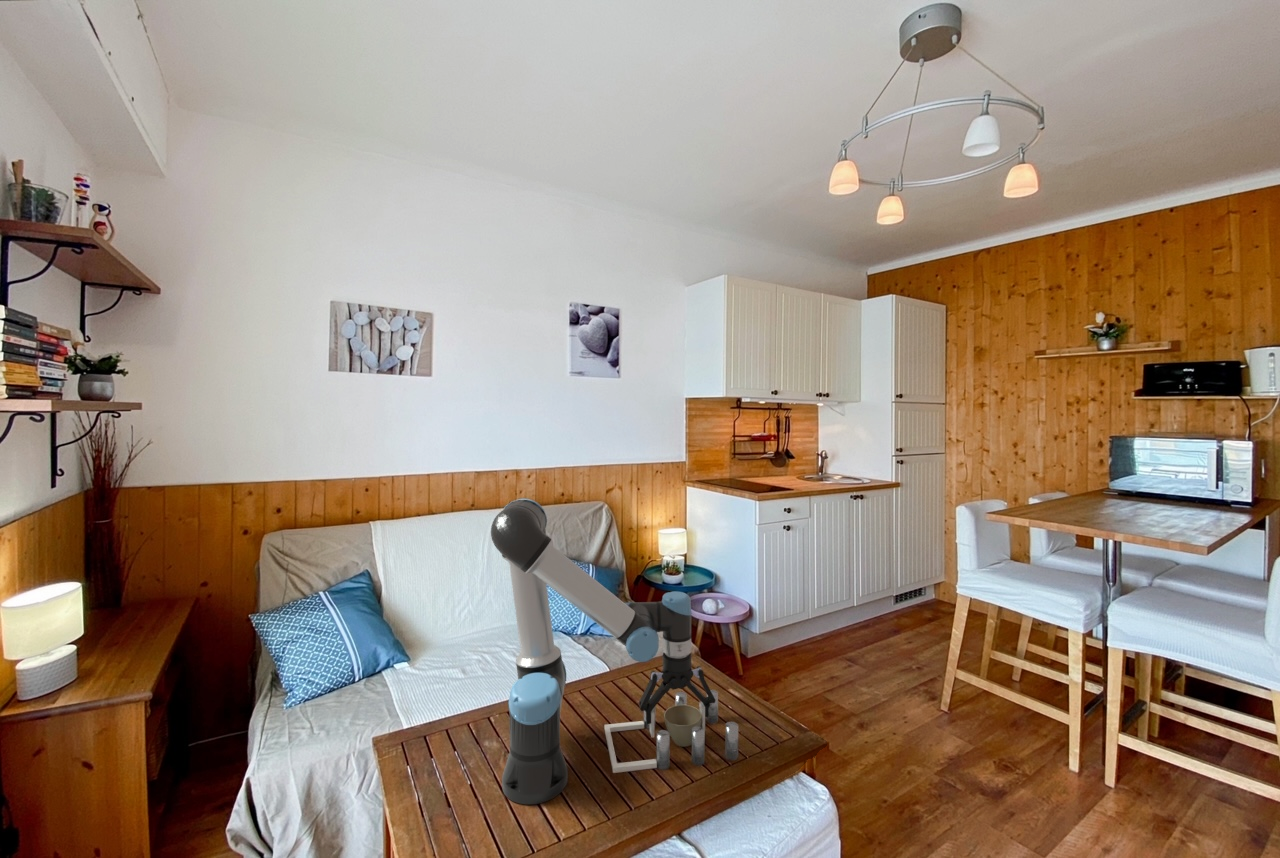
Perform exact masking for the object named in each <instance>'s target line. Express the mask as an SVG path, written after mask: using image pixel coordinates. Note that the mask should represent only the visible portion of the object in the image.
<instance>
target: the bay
mask: <svg viewBox="0 0 1280 858" xmlns="http://www.w3.org/2000/svg"><path fill="white" fill-rule="evenodd" d="M642 729H645V727H644V720H641V721H629V722H628V721H627V722H619V723H610V724H608V723H607V724H604V733H605V738H606V739H605V740H606V743H607V744H606V745H607V748H608V753H609V759H610V764H611V769H612V773H613V774H616V773H623V772H624V773H625V772H633V771H640V770H641V771H643V770H649V769H658V768H657V762H656V759H657V758H652V759H644V760H643V759H642V760H633V761H627V762H618V760H617V757H616V752H615V747H614V744H613V737H612V733H613V732H614V733H615V732H623V731H633V730H642Z"/></svg>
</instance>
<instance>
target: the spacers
mask: <svg viewBox="0 0 1280 858" xmlns="http://www.w3.org/2000/svg"><path fill="white" fill-rule="evenodd" d="M710 691H711V692H712V694H713V696H714V698H715V700H716V701H715V703H710V707H709V711H708V712H709V715H708V717H705V721H706V722H707V723H709V724H712V725H713V724H716V723H718V721H719V692H718V691H717V690H716V689H710ZM687 695H688V694H687V693H686V692H684V691H677V692H676V693H675V694H674V696H675V697H674V698H675V699H674V706H675V705H688V704H687V703H688V702H687V701H688V698H687V697H688V696H687ZM652 696H653V694H652V695H651V697H652ZM651 697H650V698H651ZM706 697H708V695H707V694H706ZM653 710H654V728H656V706H655V707H654V709H653ZM643 722H644V729H646V730H650V724H647V721H646V711H643ZM705 733H706V729H705V730H704V728H702V727H699V726H696V727H693V728H692V744H691V763H692V764H693V765H695V766H703V765H704V764H705V755H706V754H705V747H706V746H705V745H706V744H705V742H706V741H705V736H706V734H705ZM724 733H725V736H724V737H725V740H724V742H725V749H724V750H725V751H724V753H725V754H724V756H725V758H726V759H727V760H729V761H735V760H737V759H738V758H739V724H738V723H737V722H735V721H728V722H726V723H725V732H724ZM670 738H671V736H670V733H669V732H668V730H665V729H661V730H658V731H657V732H656V758H655V759H656V762H657V768H656V769H659V770H661V771H664V770H667V769H669V768H670V751H671V750H670V743H671V742H670Z"/></svg>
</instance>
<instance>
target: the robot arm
mask: <svg viewBox="0 0 1280 858" xmlns="http://www.w3.org/2000/svg"><path fill="white" fill-rule="evenodd" d="M547 522H548V518H547V514H546V511H545V509H544V507H543V506H542V505H541V504H540V503H539V502H537V501H535V500H533V499H529V498H520V499H515V500H513V501H510V502H509V503H508V504H507V505H505V506H504V508H503V509H502V510H501V511H500V512H499V513H498V514H497V515H495V518H494V519H493V521H492V523H491V528H490V537H491V541H492V543H493V546H494V547H495V549H496V550H497V551H498V552H499V553H500V554H501V557H502V559H504V560H505V561H507V562H508V564H509V570H510V579H511V586H512V593H513V601H514V607H515V608H514V609H515V617H516V624H517V630H518V639H519V646H520V649H519V650H520V652H519V654H518V655H517V657H516V658H515V665H516V672H517V673H516V674H517V680H516V681H515V682H514V684H513V685H512V687H511V688H510V692H509V697H508V710H509V754H508V756H507V759H506V762H505V763H506V764H505V766H504V769H503V772H502V775H501V776H502V777H501V778H502V780H501V781H502V782H501V783H502V785H501V787H502V789H501V790H502V792H503V794H504V796H505V798H506V799H507V798H508V799H509V800H510V801H512V802H514V803H517V804H519V805H538V804H542V803H545V802H548V801H550V800H552V799H554V798H556V797H557V796H558V795H560V794H561V793H562V791H564V789H565V788H566V787H567V784H568V766H567V763H566V760H565V757H564V754H563V750H562V748H561V710H562V704H563V703H562V702H563V698H564V691H565V687H566V681H567V669H566V666H565V663H564V661H563V657H562V651H561V648H560V647H559V646H556V645H555V641H554V635H553V633H554V632H553V627H552V625H553V624H552V617H551V609H550V603H549V594H548V587H550V588H551V589H553V590H554V591H555V592H556V593H557V594H559V595H560V596H561V597H562V598H564V599H565V600H566V601H567V602H568V603H570V604H572V606H574V607H575V608H576V609H578V610H579V611H580V612H582V613H583V614H584V615H586V616H587V617H588V618H589V619H591V620H592V621H593V622H594V623H595V624H597V625H598V626H600V628H601V629H603V630H604V631H606V632H607V633H608V634H609V635H611V636H612V637H614V638H615V640H617V641H618V642H620V643H621V644H622V645H623V646H624V647H625V649H626V651H627V653H628V655H629V656H630V658H631V659H632V660H634V661H635V662H639V663H646V662H649V661H650V660H652V659H654V658H655V657H656V656H657V653H658V651H659V646H660V645H659V641H660V640H659V639H660V638H659V634H658V633H662V670H661V672H656V671H655V670H651V672H650V676H649V677H650V678H649V681H648V682H647V685H646V687H645V688H644V691H643V693H642V695H641V697H640V699H639V702H638V706H639V710H640V711H641V712H644V711H646V721H647V724H650V729H649V733H650V736H651V737H650V738H655V727H654V710H653V709H654V707H655V708H656V706H657V705H658V703H659V702H660V701H661V700H662V698H663V697H664V696H665V695H666V694H667V693H668V692H669V691H670V690H673V691H674V690H677V689H680V690H682V689H684V688H686V687H687V688H688V689H689V690H690V691H691V692H692V693H693V694H694V695H695V696H696V697H697V699H698V700H699V703H698V704H699V707H698V709H699V710H700V712H701V714H702V719H701V725H700V727H702V728H704V730H705V731H706V717H708V715H709V712H708V711H709V707H710V703H715V701H716V700H715V698H714V696H713V694H712V692H711V691H710V690H711V689H710V687H709V685H708V684H707V681H706V679H705V675H704V674H705V673H704V670H703V669H702V668H701V666H700V665H699V666H696V668H694V669H692V615H693V613H692V605H691V604H692V602H691V601H692V600H691V597H690V595H689V594H687V593H685V592H683V591H670V592H665V593H664V594H663V595H662V599H661V601H647V602H646V601H645V602H644V601H642V602H640V601H639V602H636V601H630V602H623V601H622V600H621V599H620V598H619V597H617V596H616V595H615V594H614V593H613V592H611V591H610V590H609V589H608V588H606V587H605V586H604V585H602V584H601V583H600V582H598V580H596V579H595V578H594V577H592V575H590V574H588V572H586V571H585V570H584V569H582V568H581V567H580V566H579V565H578V564H576V563H575V562H574V561H572V560H571V559H570V558H569V557H567V556H566V555H565V554H563V552H561V551H560V550H558V548H556V547H555V546H554V544H553V543H554V541H553V539H552V538H551V537H549V536H548V535H547V531H546V528H547ZM547 586H548V587H547ZM693 676H695V677H696V679H697V678H698V680H699V682H700V683H701V685H702V688H703V690H704V692H705V693H706V696H705V695H704V694H703V693H702V692H701V691H700V690H699V688H698V687H697V686H696V685H695V684H694V683H693V682H692V681H691V680H692V678H693ZM660 679H662V681H661V683H660V685H659V687H658V688H657V689H656V687H657V683H659V681H660ZM655 689H656V690H655ZM654 690H655V691H654ZM653 692H654V693H653ZM651 695H653V696H652V697H651ZM707 695H708V697H707ZM650 697H651V698H650Z"/></svg>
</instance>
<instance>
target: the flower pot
mask: <svg viewBox="0 0 1280 858" xmlns="http://www.w3.org/2000/svg"><path fill="white" fill-rule="evenodd" d="M663 713H664V714H663V719H664V722H665V726H666V729H667V730H666V731H668V732H669V733H670V738H671V739H672V741H673V742H674V744H675V745H677V746H679V747H683V748H685V747H689V746H692V728H693V727H696V726H699V727H700V725H701V719H702V714H701V712H700V710H699V708H697V707H696V706H693V705H689V704H687V705H675V704H674V705H672V706H670V707H668V708H667V709H666V710H665V711H664V712H663Z"/></svg>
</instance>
